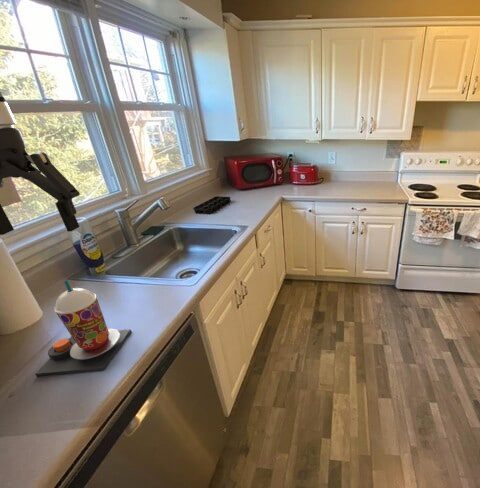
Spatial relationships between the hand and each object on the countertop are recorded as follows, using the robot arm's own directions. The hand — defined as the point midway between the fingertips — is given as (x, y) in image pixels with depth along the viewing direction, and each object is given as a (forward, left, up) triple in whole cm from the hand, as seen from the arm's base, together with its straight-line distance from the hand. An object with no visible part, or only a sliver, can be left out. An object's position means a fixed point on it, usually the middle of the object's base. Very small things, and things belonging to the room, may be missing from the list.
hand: (40, 230), depth 62 cm
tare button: (-9, 0, -34) cm, 35 cm away
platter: (0, 0, -34) cm, 34 cm away
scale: (-3, 0, -37) cm, 37 cm away
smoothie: (0, 0, -34) cm, 34 cm away
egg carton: (0, +129, -37) cm, 134 cm away
